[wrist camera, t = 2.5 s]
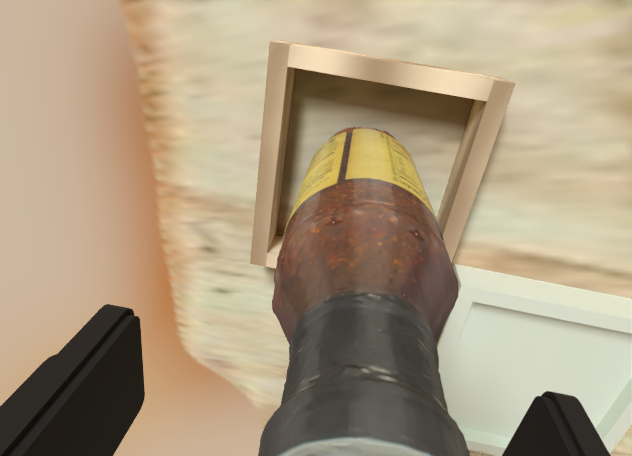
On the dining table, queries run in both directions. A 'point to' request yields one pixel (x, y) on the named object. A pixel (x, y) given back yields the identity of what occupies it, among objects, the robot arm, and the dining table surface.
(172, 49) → the dining table surface
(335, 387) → the sauce bottle
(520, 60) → the dining table surface
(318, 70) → the tan flat square frame
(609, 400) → the shallow square tray
